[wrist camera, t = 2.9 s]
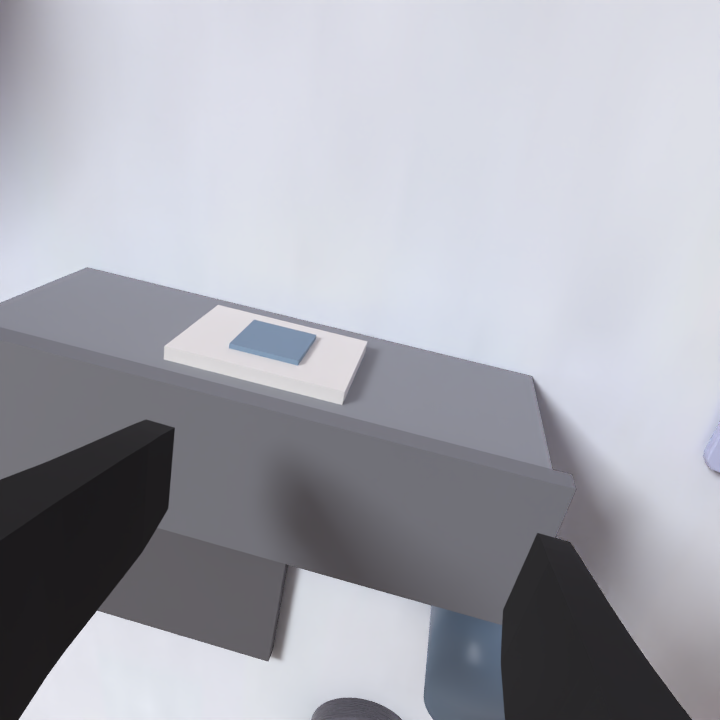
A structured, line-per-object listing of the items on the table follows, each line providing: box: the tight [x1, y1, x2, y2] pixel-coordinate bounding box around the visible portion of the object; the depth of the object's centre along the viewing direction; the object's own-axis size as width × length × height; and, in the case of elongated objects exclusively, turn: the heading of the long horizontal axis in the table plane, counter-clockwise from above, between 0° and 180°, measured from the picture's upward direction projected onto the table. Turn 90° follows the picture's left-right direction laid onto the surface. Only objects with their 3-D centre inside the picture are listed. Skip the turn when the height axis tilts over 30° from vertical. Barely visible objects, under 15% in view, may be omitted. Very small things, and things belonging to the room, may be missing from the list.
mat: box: [97, 528, 287, 661], centre depth 25 cm, size 10×10×1 cm
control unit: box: [0, 268, 576, 625], centre depth 18 cm, size 17×5×7 cm, turn 79°
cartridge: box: [424, 605, 505, 720], centre depth 21 cm, size 4×4×5 cm
